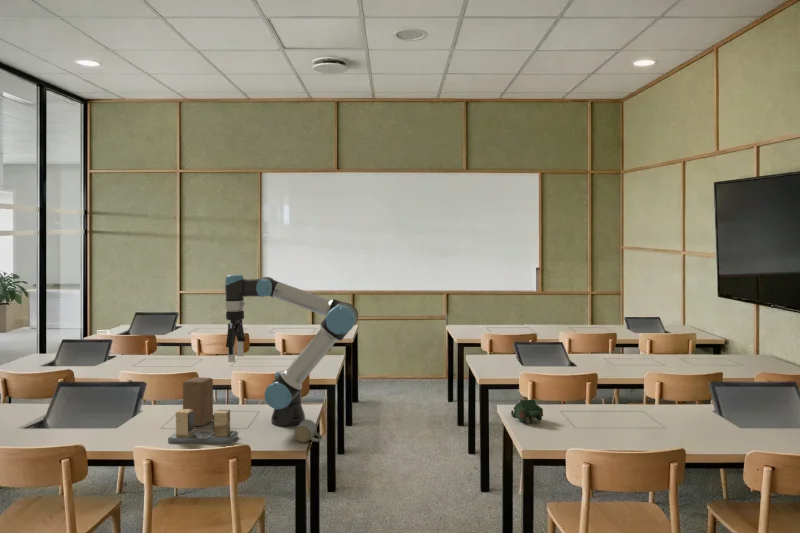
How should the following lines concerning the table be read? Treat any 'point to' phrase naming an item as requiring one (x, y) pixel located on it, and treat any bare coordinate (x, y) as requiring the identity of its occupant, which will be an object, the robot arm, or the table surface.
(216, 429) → the finger block
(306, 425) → the ceramic mug
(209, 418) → the wooden block
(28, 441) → the table surface
